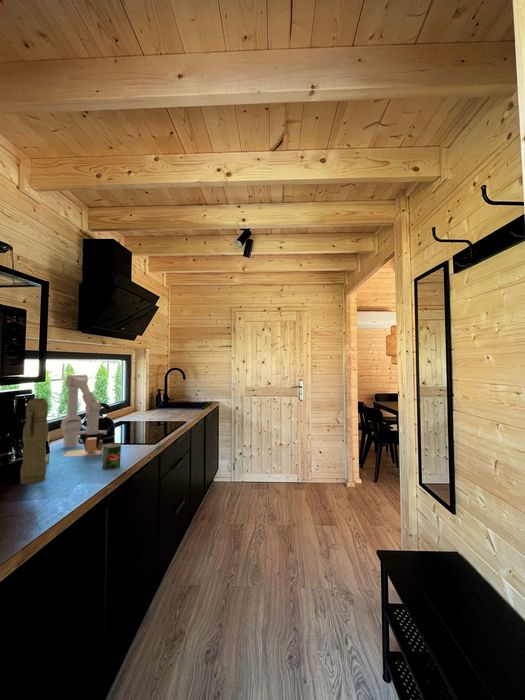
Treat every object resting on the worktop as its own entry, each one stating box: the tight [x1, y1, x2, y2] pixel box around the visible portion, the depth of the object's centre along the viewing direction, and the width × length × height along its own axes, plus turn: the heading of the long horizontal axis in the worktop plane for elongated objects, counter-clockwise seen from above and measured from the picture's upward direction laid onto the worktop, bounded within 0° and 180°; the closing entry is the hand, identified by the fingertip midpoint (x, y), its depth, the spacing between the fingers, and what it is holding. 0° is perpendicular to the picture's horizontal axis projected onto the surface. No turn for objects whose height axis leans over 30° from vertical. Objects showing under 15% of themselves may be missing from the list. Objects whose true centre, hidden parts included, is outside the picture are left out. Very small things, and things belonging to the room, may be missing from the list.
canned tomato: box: [102, 442, 122, 471], centre depth 153 cm, size 8×8×11 cm
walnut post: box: [97, 439, 104, 451], centre depth 181 cm, size 3×3×5 cm
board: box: [62, 448, 103, 458], centre depth 174 cm, size 12×18×1 cm, turn 108°
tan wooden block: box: [84, 437, 97, 452], centre depth 174 cm, size 5×5×7 cm
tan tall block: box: [19, 397, 49, 486], centre depth 134 cm, size 9×12×35 cm
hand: (91, 447), depth 174 cm, fingers closed on tan wooden block, 5 cm apart
